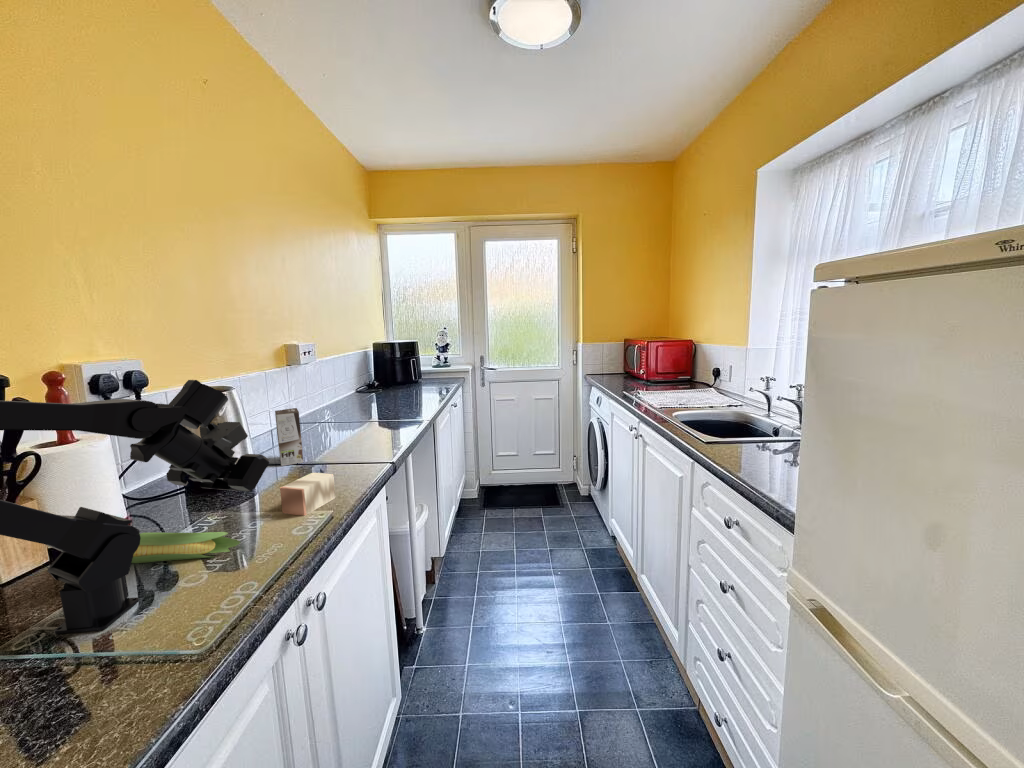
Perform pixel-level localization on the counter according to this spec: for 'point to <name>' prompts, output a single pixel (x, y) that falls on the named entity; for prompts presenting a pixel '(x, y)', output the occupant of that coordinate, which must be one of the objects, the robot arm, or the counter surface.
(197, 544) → the edible corn
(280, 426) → the coffee box
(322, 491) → the marked block
